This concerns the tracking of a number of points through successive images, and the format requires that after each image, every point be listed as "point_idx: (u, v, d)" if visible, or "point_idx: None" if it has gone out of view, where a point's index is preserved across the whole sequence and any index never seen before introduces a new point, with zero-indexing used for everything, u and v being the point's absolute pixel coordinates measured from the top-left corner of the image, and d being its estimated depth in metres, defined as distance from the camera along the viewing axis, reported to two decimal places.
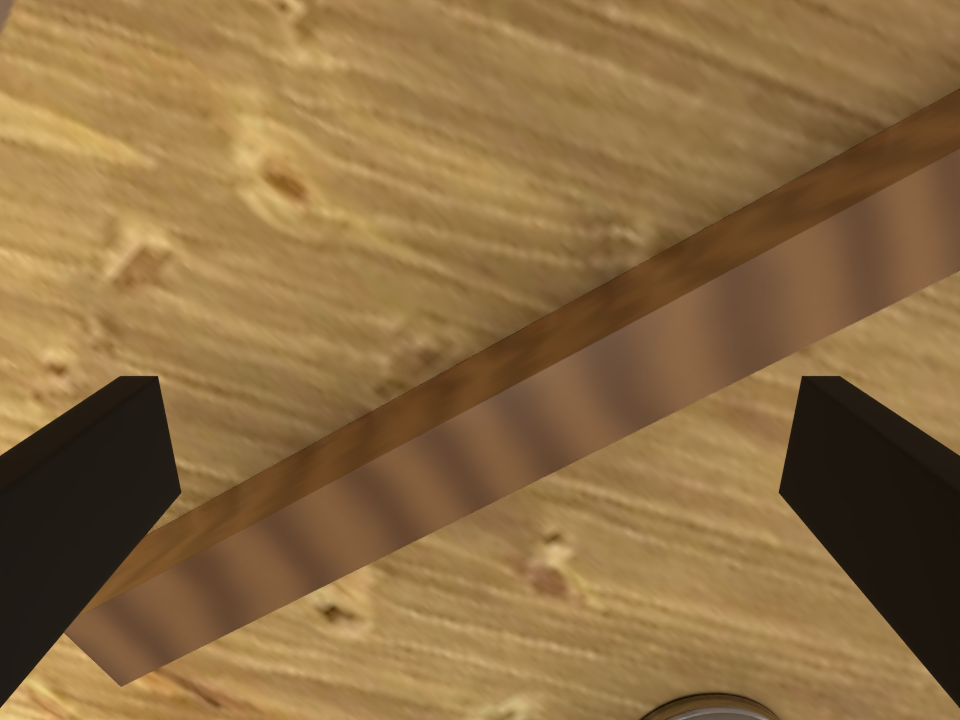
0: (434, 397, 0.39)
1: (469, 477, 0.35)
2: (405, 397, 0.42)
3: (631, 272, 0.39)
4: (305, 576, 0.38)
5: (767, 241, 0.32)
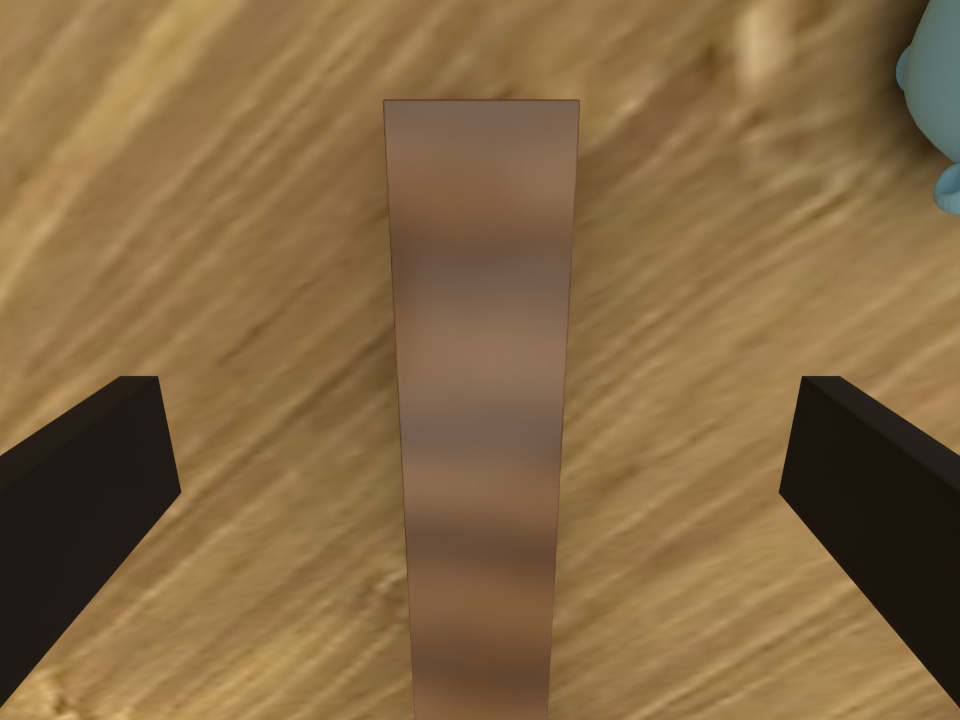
0: None
1: None
2: None
3: None
4: None
5: None
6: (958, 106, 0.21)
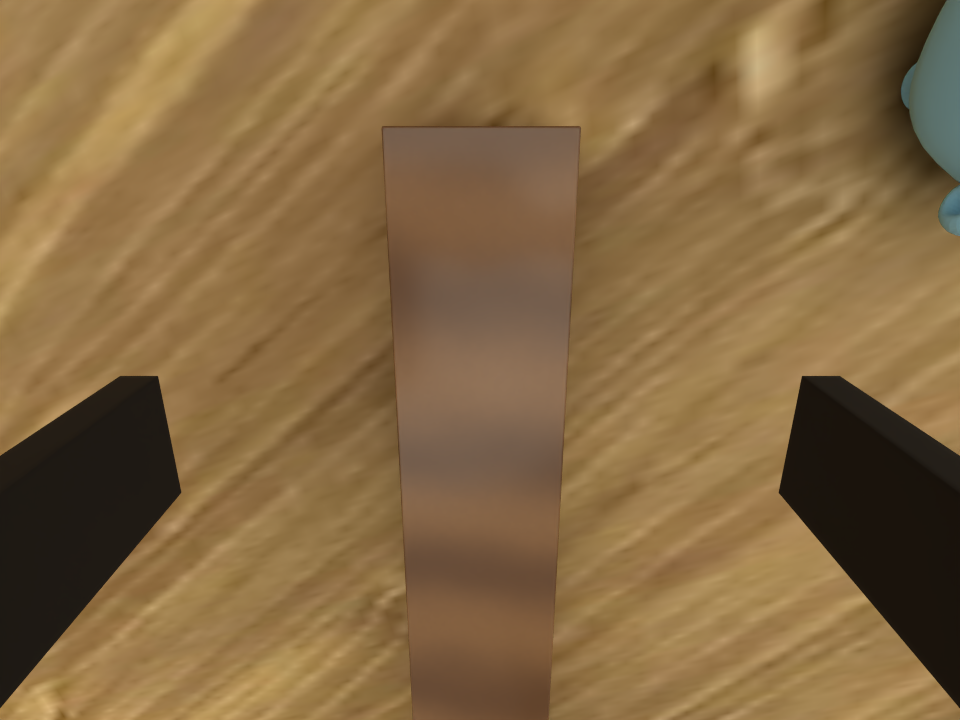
0: None
1: None
2: None
3: None
4: None
5: None
6: None
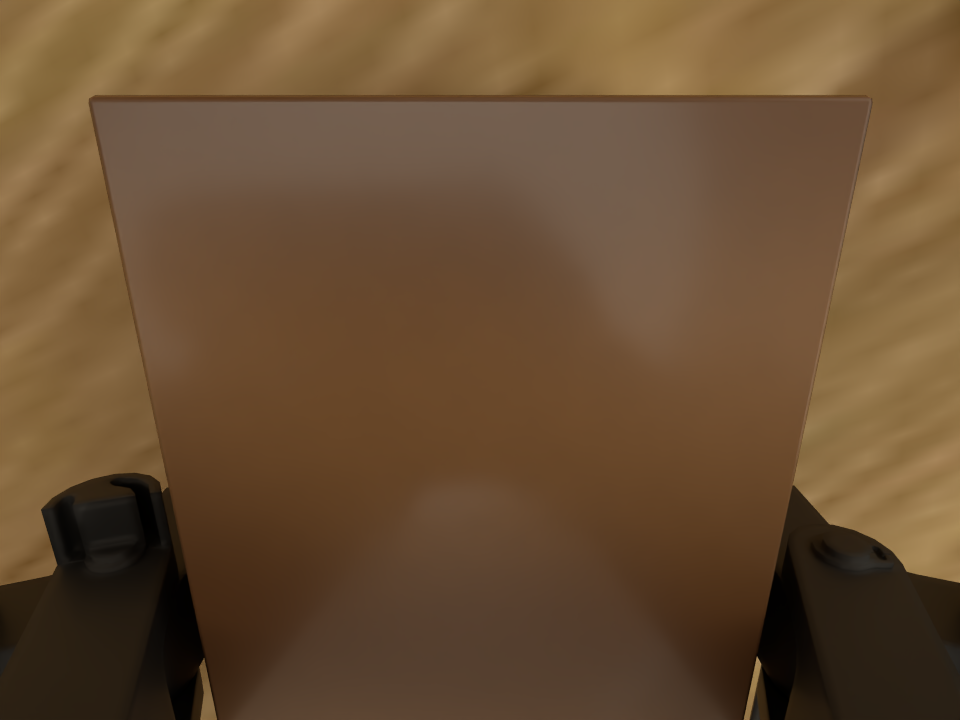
0: None
1: None
2: None
3: None
4: None
5: None
6: None
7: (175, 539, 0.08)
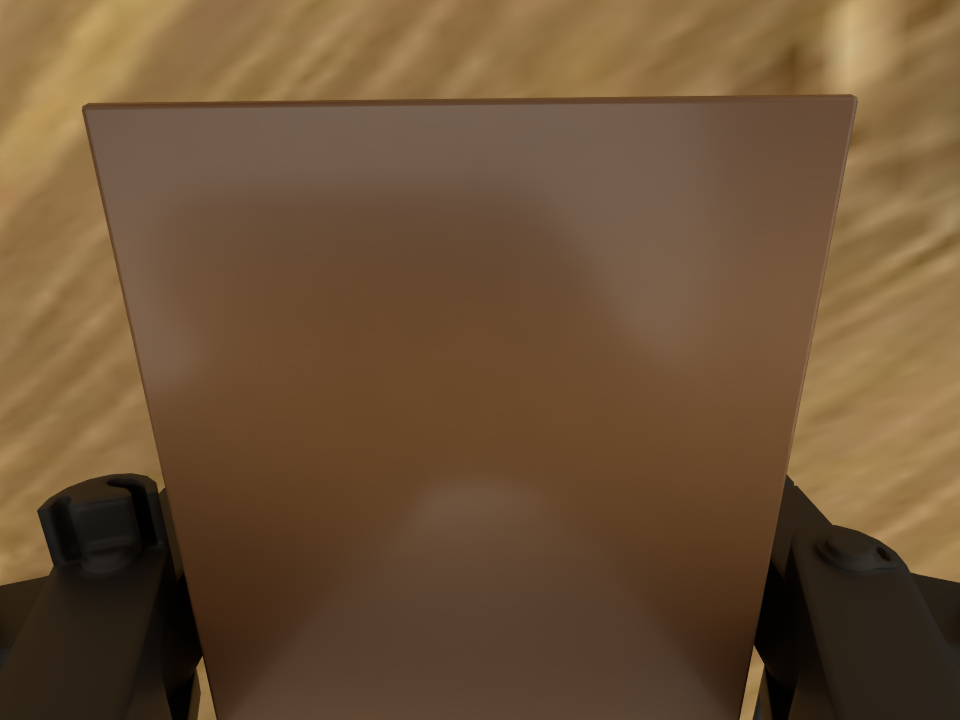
0: None
1: None
2: None
3: None
4: None
5: None
6: None
7: (172, 539, 0.08)
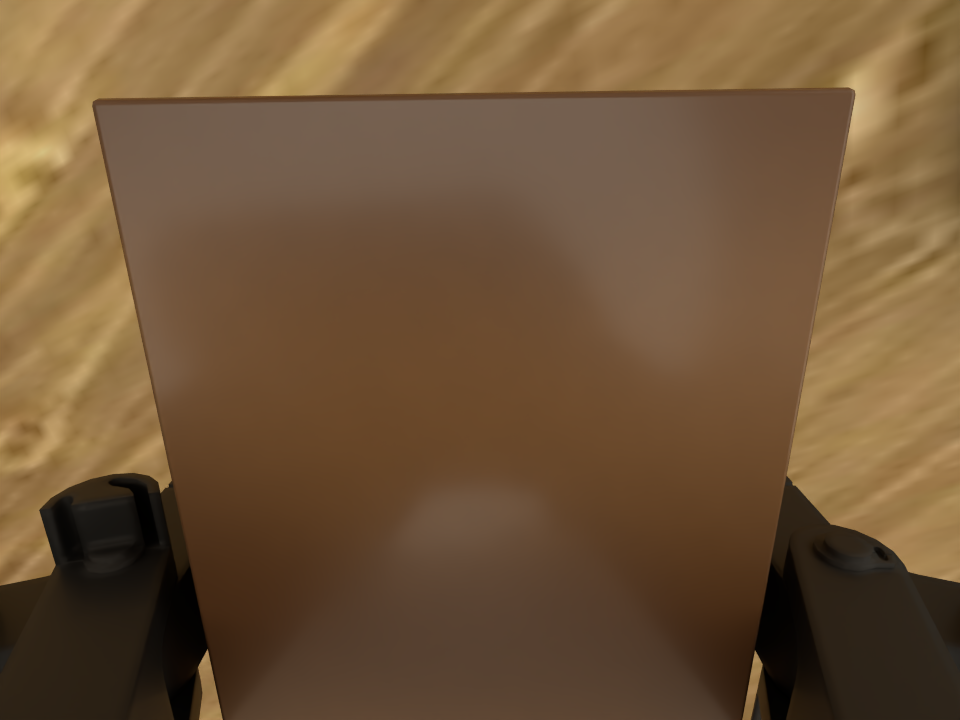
0: None
1: None
2: None
3: None
4: None
5: None
6: None
7: (174, 539, 0.08)
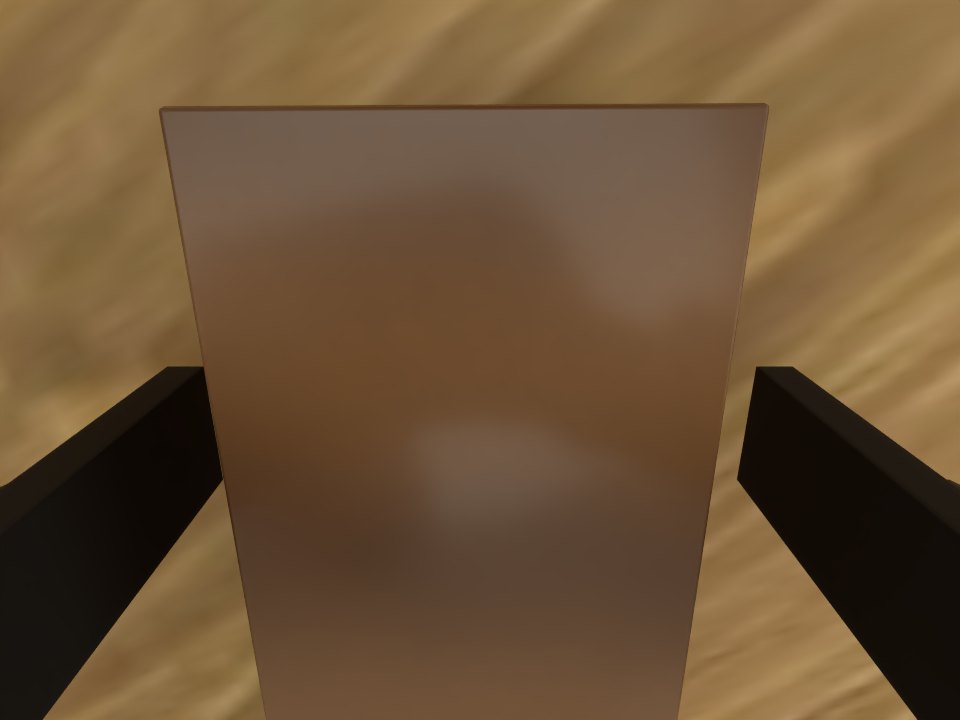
0: None
1: None
2: None
3: None
4: None
5: None
6: None
7: None
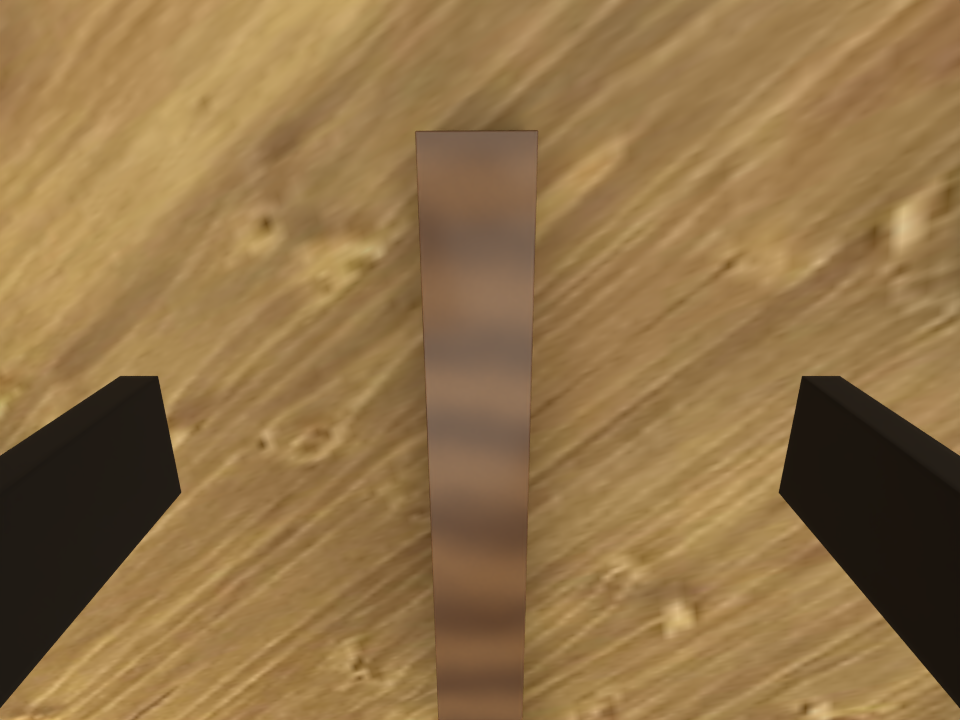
0: None
1: None
2: None
3: None
4: None
5: None
6: None
7: None
